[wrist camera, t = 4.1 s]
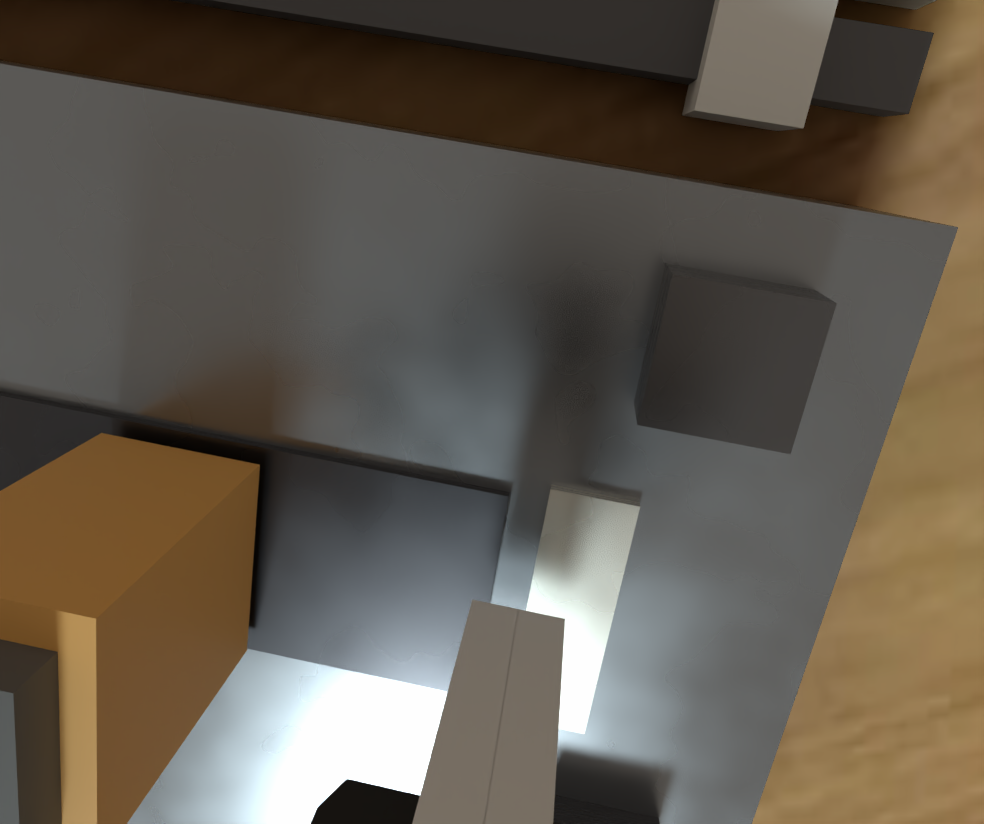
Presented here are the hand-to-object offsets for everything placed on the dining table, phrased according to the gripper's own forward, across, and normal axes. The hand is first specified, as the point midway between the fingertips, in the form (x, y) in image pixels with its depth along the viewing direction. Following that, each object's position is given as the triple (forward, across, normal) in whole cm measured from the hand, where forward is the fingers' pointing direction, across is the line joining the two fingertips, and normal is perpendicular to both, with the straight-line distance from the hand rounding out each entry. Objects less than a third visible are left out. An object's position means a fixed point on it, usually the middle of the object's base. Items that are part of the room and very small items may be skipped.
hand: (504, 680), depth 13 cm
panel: (+7, -6, 0) cm, 10 cm away
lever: (+2, -7, 0) cm, 7 cm away
